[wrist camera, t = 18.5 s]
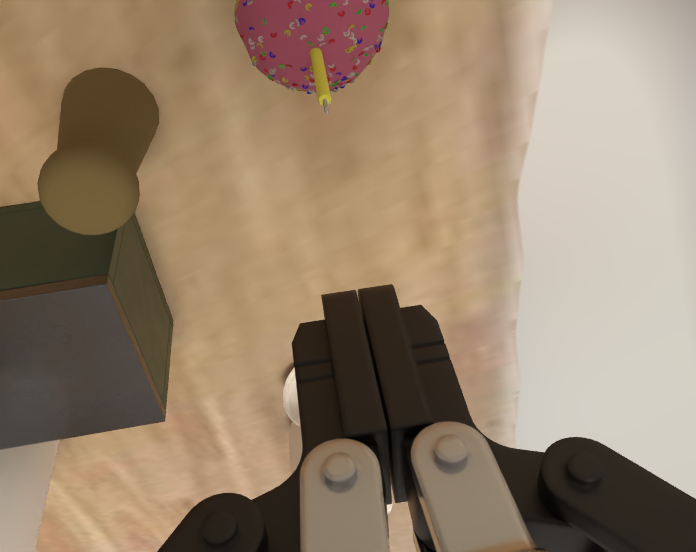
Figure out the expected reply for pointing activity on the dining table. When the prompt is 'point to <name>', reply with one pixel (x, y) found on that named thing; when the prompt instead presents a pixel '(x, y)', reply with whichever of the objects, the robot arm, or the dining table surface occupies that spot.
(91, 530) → the dining table surface
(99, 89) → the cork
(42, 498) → the bottle
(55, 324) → the dark gray flat panel
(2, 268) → the dark green storage bin
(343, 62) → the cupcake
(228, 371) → the dining table surface
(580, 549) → the robot arm
